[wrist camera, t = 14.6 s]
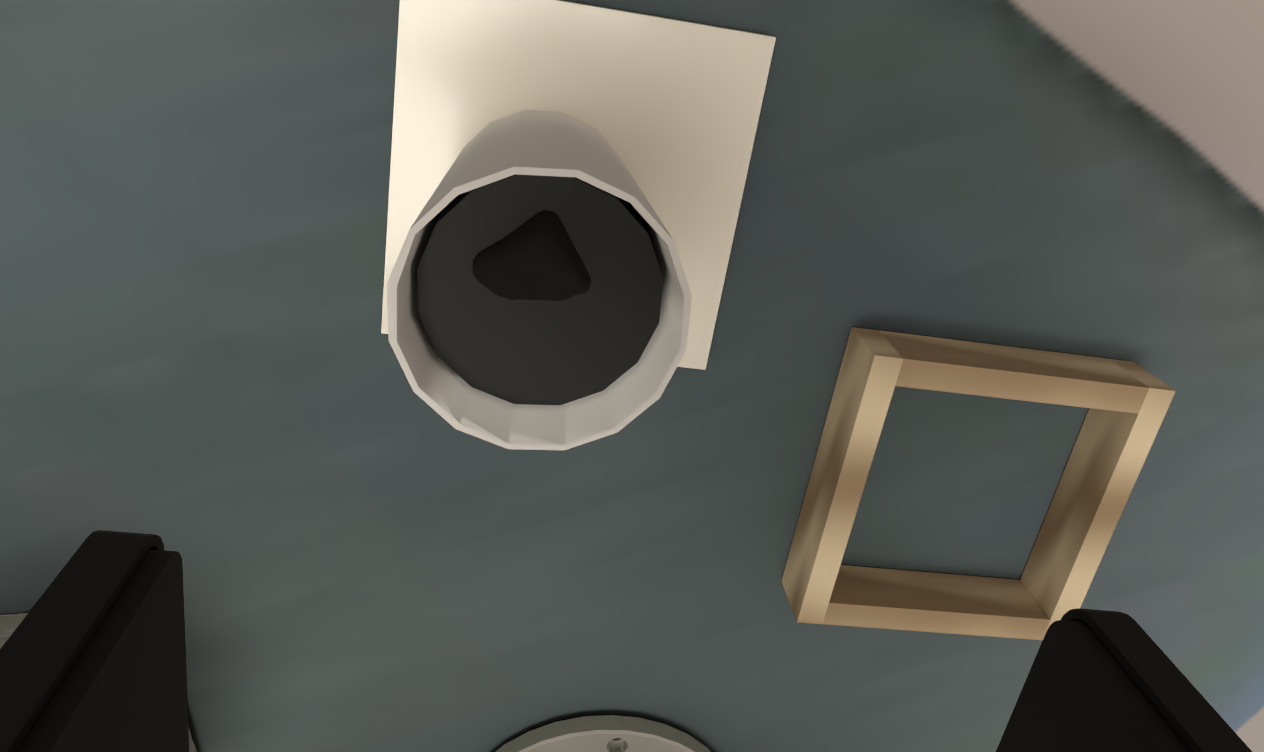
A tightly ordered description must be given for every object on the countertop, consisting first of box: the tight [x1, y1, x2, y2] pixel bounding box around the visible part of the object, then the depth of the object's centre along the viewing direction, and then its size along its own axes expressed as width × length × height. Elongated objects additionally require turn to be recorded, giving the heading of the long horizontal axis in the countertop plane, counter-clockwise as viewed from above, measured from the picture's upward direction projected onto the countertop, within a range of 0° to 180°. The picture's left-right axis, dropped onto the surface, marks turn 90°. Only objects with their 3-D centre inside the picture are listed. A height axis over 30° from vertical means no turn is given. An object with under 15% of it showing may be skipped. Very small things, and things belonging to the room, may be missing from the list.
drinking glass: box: [387, 110, 692, 450], centre depth 25 cm, size 7×7×10 cm
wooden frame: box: [782, 327, 1175, 640], centre depth 35 cm, size 11×11×2 cm
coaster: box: [381, 0, 776, 370], centre depth 29 cm, size 11×11×1 cm
